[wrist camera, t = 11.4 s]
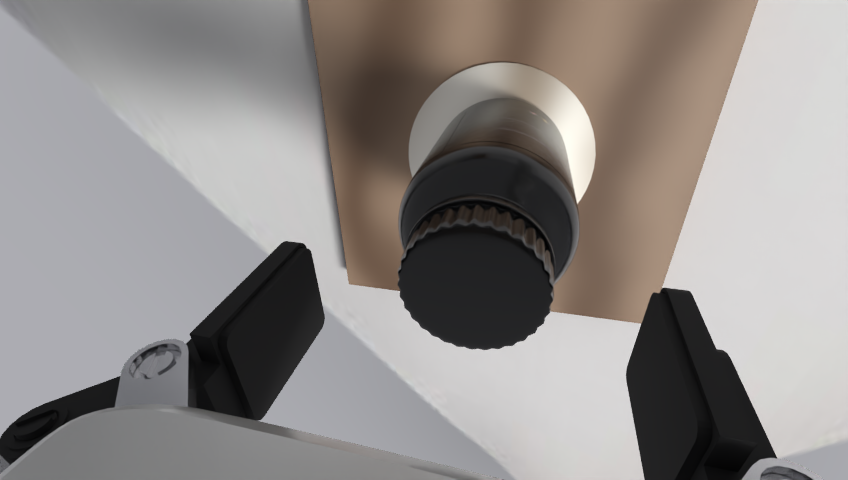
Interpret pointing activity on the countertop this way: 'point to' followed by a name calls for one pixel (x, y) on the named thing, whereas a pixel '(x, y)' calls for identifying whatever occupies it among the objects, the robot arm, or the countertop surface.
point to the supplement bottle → (488, 226)
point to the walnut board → (548, 91)
